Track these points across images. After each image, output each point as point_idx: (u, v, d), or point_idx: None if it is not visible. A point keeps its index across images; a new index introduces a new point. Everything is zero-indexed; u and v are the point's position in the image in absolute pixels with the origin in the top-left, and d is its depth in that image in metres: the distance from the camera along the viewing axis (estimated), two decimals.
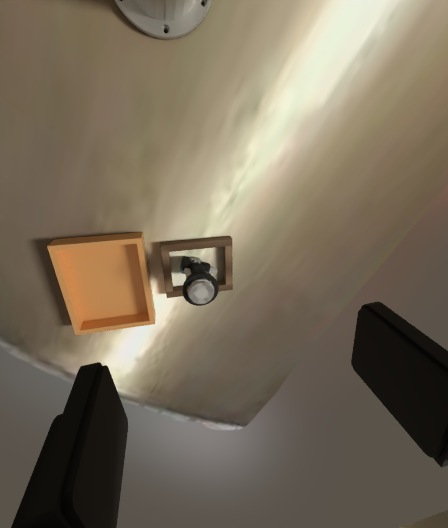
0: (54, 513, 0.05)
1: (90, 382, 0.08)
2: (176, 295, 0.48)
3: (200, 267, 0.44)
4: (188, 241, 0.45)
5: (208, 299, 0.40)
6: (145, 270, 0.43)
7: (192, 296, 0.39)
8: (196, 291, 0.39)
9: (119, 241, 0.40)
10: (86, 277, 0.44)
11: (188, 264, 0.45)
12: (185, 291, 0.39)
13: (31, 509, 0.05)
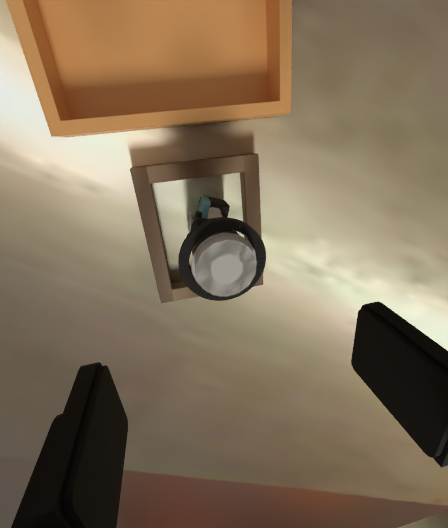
0: (54, 513, 0.05)
1: (90, 382, 0.08)
2: (138, 191, 0.21)
3: None
4: None
5: (209, 287, 0.16)
6: (214, 117, 0.18)
7: (219, 248, 0.15)
8: (234, 256, 0.15)
9: (287, 58, 0.18)
10: None
11: (224, 214, 0.22)
12: (221, 226, 0.15)
13: (31, 509, 0.05)
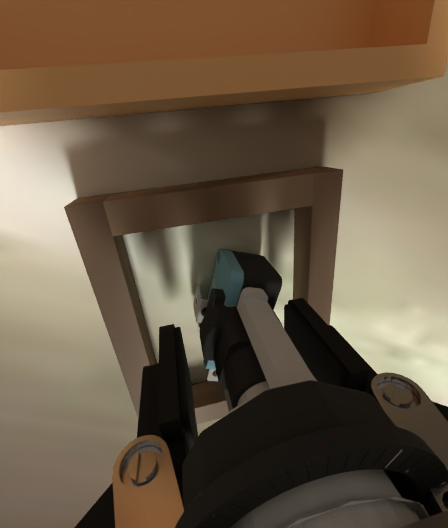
0: (179, 421, 0.06)
1: (173, 337, 0.09)
2: (88, 253, 0.09)
3: None
4: None
5: None
6: (269, 83, 0.07)
7: None
8: None
9: None
10: None
11: (270, 296, 0.10)
12: (332, 468, 0.04)
13: (161, 418, 0.06)
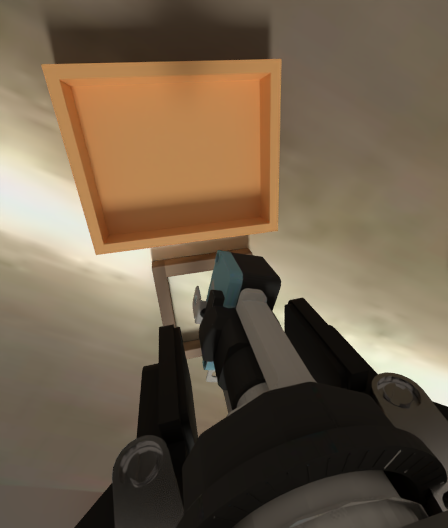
0: (179, 421, 0.06)
1: (173, 337, 0.09)
2: (157, 282, 0.26)
3: None
4: None
5: None
6: (220, 236, 0.24)
7: None
8: None
9: (275, 196, 0.24)
10: (190, 117, 0.22)
11: (269, 297, 0.10)
12: (331, 469, 0.04)
13: (161, 418, 0.06)
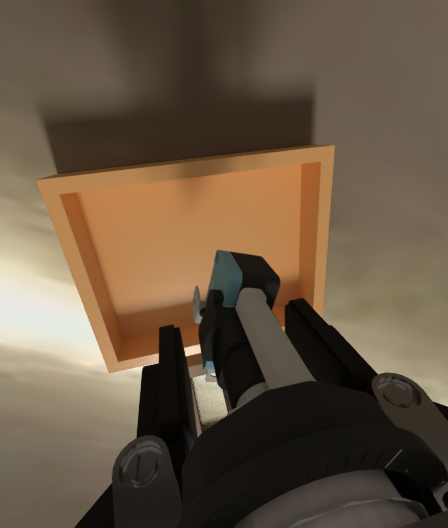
0: (179, 421, 0.06)
1: (173, 337, 0.09)
2: None
3: None
4: None
5: None
6: None
7: None
8: None
9: (320, 292, 0.20)
10: (217, 207, 0.18)
11: (268, 296, 0.10)
12: (332, 469, 0.04)
13: (161, 418, 0.06)
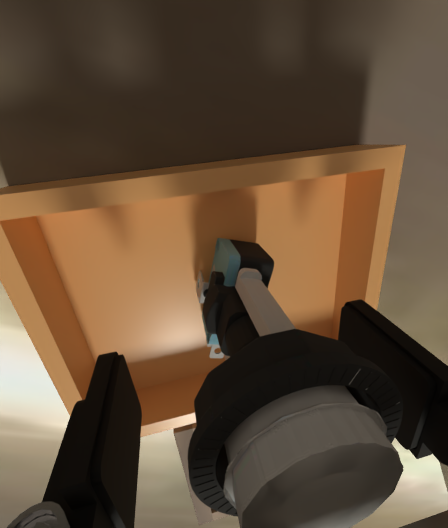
0: (85, 484, 0.05)
1: (109, 369, 0.08)
2: (182, 448, 0.18)
3: None
4: None
5: None
6: None
7: (314, 466, 0.05)
8: (349, 473, 0.05)
9: None
10: (234, 228, 0.13)
11: (264, 277, 0.12)
12: (308, 382, 0.05)
13: (64, 480, 0.05)
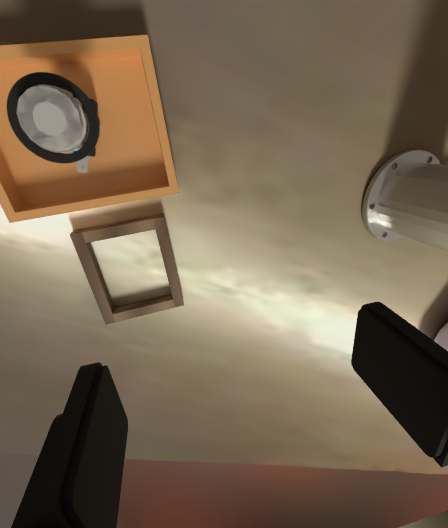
0: (54, 513, 0.05)
1: (90, 382, 0.08)
2: (78, 248, 0.29)
3: None
4: None
5: (37, 138, 0.17)
6: (124, 200, 0.27)
7: (35, 94, 0.16)
8: (53, 104, 0.17)
9: (169, 161, 0.27)
10: None
11: None
12: (41, 80, 0.17)
13: (31, 509, 0.05)
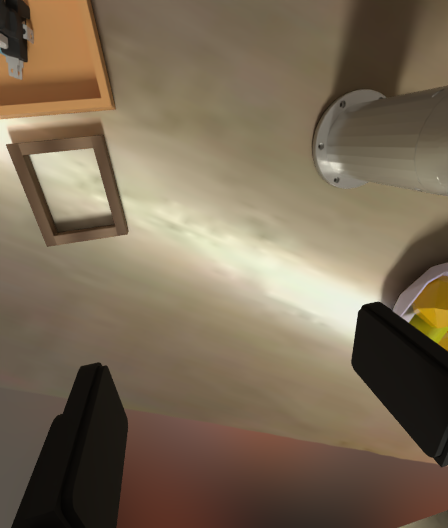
0: (54, 513, 0.05)
1: (90, 382, 0.08)
2: (14, 160, 0.30)
3: (14, 26, 0.24)
4: (113, 176, 0.33)
5: None
6: (55, 109, 0.28)
7: None
8: None
9: (100, 70, 0.27)
10: None
11: (13, 3, 0.24)
12: None
13: (31, 509, 0.05)
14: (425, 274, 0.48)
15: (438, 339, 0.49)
